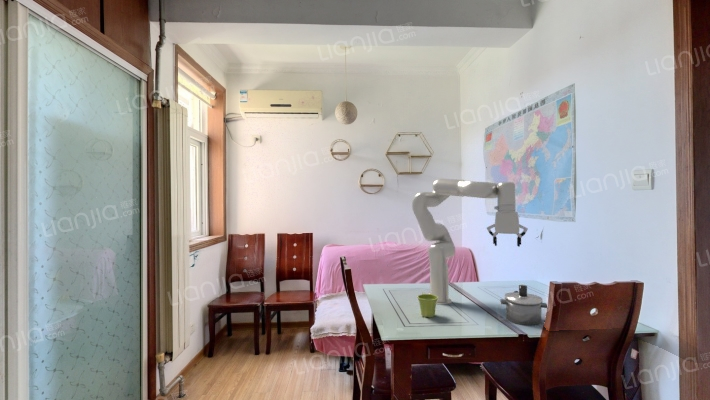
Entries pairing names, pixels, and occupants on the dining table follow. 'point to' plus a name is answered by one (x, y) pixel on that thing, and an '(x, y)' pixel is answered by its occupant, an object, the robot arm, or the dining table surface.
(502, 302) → the pot
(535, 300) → the lid
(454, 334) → the dining table surface
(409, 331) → the dining table surface
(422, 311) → the plant pot
